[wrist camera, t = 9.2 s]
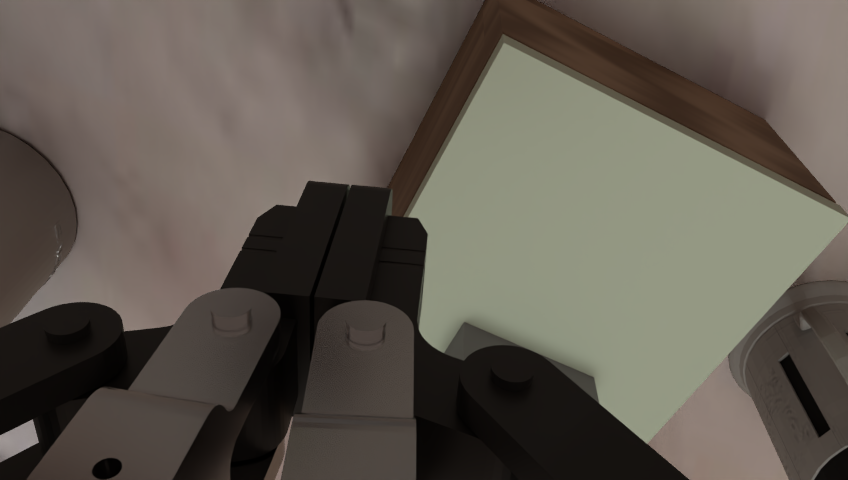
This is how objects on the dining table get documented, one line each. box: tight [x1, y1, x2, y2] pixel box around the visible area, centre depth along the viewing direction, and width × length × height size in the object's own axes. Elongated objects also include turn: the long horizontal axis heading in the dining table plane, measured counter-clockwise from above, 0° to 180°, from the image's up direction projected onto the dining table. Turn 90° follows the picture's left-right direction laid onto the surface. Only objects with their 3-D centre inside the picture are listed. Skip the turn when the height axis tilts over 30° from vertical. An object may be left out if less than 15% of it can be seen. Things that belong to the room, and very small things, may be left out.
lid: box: [403, 34, 848, 443], centre depth 28 cm, size 14×13×4 cm
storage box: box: [388, 0, 836, 217], centre depth 34 cm, size 14×13×8 cm
